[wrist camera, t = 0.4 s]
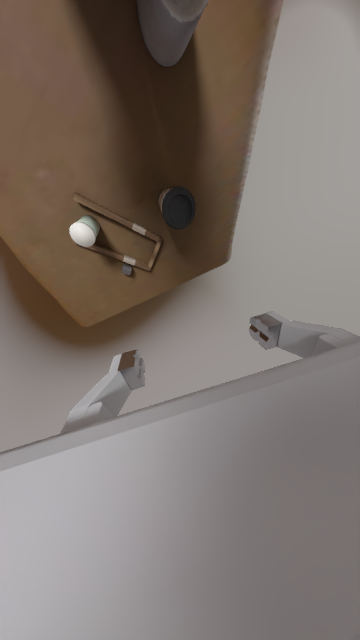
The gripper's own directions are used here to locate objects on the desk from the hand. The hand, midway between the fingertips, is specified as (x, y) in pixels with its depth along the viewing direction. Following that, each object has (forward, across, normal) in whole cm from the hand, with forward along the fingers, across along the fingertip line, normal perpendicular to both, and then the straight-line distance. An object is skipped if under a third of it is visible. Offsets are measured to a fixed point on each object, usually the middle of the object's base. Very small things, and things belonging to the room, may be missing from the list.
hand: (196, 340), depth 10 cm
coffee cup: (+48, -8, -16) cm, 51 cm away
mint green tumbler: (+48, +17, -15) cm, 53 cm away
